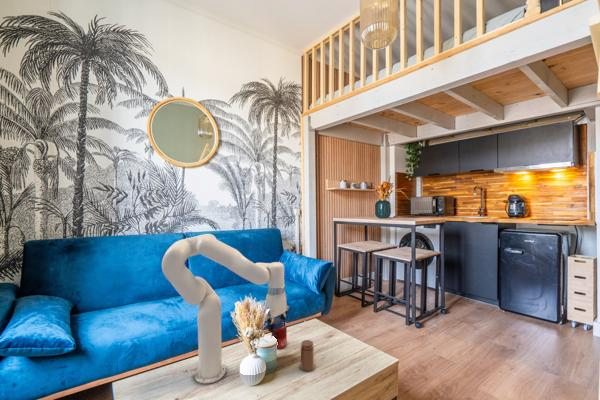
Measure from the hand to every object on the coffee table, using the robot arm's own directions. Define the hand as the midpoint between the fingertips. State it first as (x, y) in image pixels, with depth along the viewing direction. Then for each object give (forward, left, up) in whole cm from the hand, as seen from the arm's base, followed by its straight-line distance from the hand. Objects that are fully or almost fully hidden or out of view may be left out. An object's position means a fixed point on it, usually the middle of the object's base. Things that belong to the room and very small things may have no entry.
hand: (276, 328), depth 127 cm
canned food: (+5, +14, -16) cm, 22 cm away
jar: (+12, -8, -16) cm, 21 cm away
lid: (0, 0, +3) cm, 3 cm away
